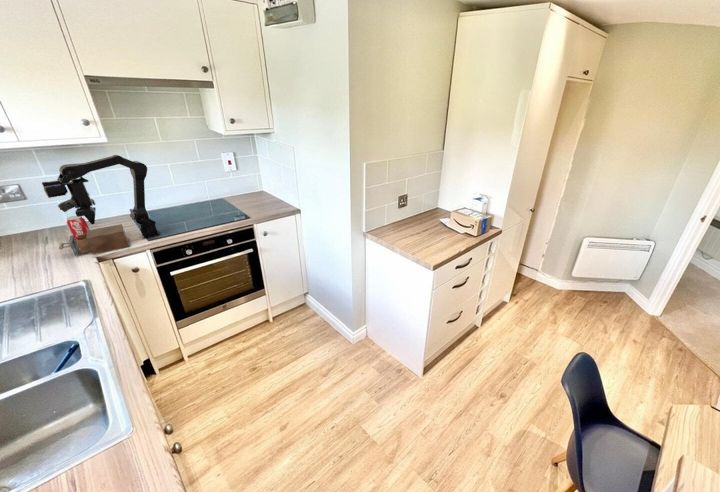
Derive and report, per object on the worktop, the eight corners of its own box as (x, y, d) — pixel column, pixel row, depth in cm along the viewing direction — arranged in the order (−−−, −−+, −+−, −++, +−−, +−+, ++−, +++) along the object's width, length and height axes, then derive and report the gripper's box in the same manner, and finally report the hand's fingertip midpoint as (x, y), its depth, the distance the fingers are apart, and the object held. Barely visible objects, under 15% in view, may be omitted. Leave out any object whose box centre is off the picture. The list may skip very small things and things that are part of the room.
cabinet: (93, 254, 155) (86, 238, 151) (94, 245, 163) (87, 230, 159) (129, 246, 163) (122, 231, 159) (127, 238, 171) (121, 224, 167)
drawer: (62, 258, 149) (55, 245, 146) (64, 250, 156) (57, 237, 153) (109, 248, 158) (103, 236, 155) (108, 241, 165) (103, 229, 162)
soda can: (96, 236, 172) (86, 215, 166) (81, 242, 166) (71, 220, 160) (86, 235, 173) (76, 214, 168) (71, 240, 167) (61, 219, 162)
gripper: (56, 190, 150) (71, 221, 157) (52, 201, 137) (69, 234, 144) (88, 187, 156) (101, 216, 163) (87, 196, 143) (101, 228, 150)
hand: (93, 224), depth 155 cm, fingers closed
